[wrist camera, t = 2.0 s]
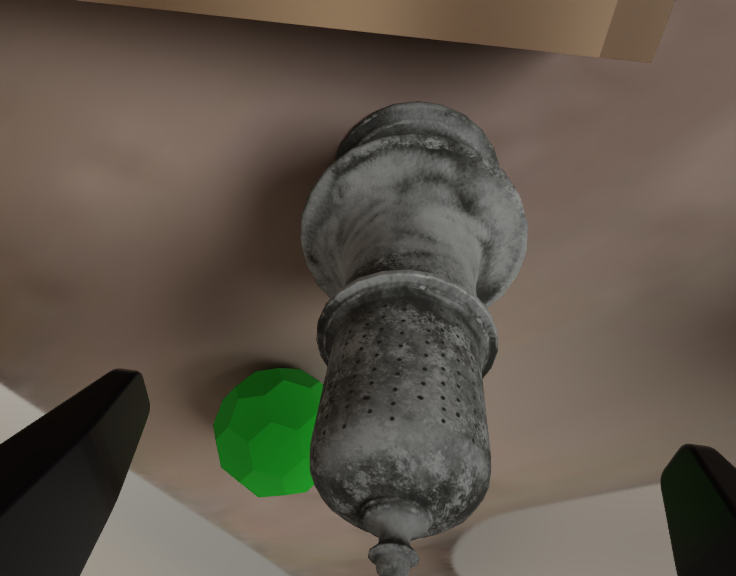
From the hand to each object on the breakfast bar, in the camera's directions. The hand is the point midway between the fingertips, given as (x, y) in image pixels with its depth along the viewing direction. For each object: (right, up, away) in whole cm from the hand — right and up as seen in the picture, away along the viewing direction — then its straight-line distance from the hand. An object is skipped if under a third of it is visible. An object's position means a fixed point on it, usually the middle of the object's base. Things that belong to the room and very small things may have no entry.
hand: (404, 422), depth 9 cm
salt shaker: (+1, +6, +8) cm, 10 cm away
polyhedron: (-4, -2, +14) cm, 15 cm away
